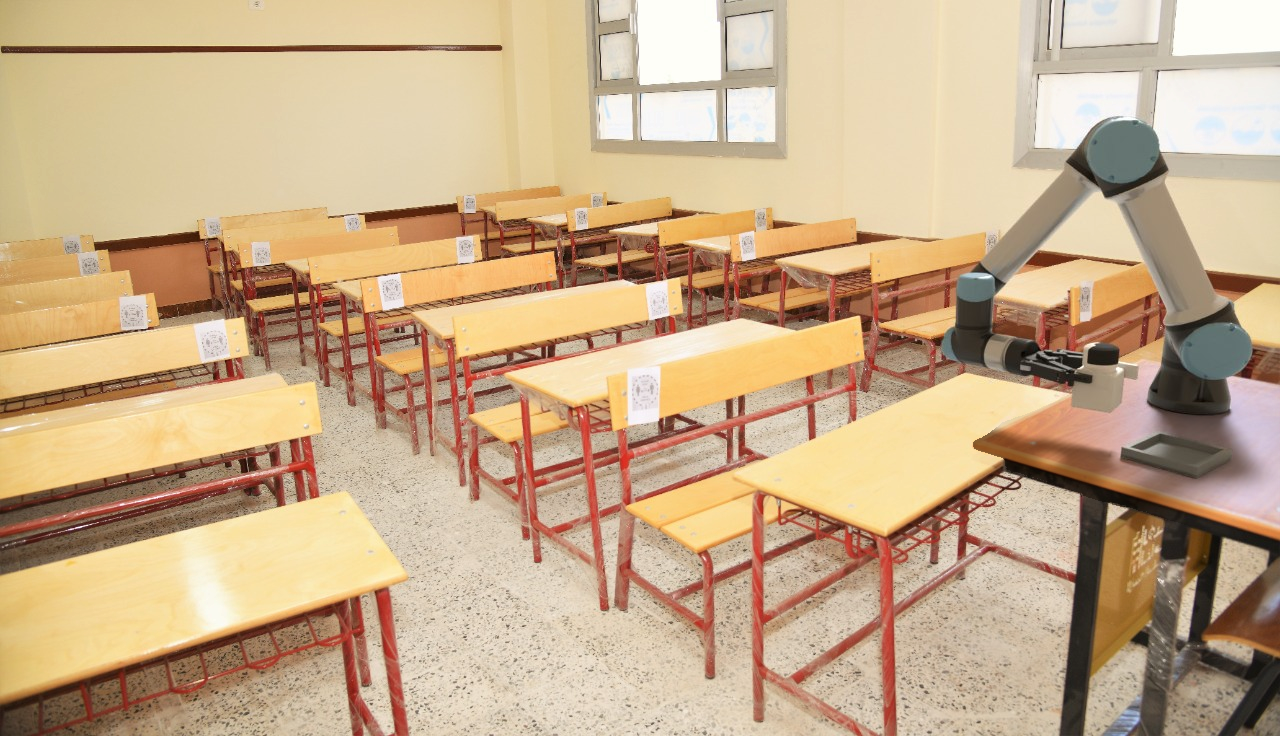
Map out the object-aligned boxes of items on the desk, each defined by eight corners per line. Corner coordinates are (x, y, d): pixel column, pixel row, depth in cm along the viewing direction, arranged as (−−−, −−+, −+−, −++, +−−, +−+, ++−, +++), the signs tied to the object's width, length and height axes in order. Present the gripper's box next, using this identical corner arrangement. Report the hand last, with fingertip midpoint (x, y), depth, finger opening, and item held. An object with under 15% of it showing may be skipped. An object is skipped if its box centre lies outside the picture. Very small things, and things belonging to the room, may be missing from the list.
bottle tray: (1156, 440, 170) (1157, 430, 169) (1230, 460, 160) (1232, 449, 159) (1120, 457, 163) (1121, 446, 162) (1195, 478, 153) (1197, 467, 152)
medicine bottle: (1122, 403, 170) (1128, 343, 166) (1111, 413, 165) (1117, 351, 161) (1082, 397, 174) (1087, 338, 171) (1070, 407, 169) (1075, 346, 166)
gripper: (1041, 363, 189) (1151, 385, 171) (981, 383, 177) (1091, 409, 159) (1044, 328, 187) (1155, 347, 169) (983, 347, 175) (1095, 369, 157)
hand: (1124, 377), depth 164 cm, fingers closed on medicine bottle, 8 cm apart
